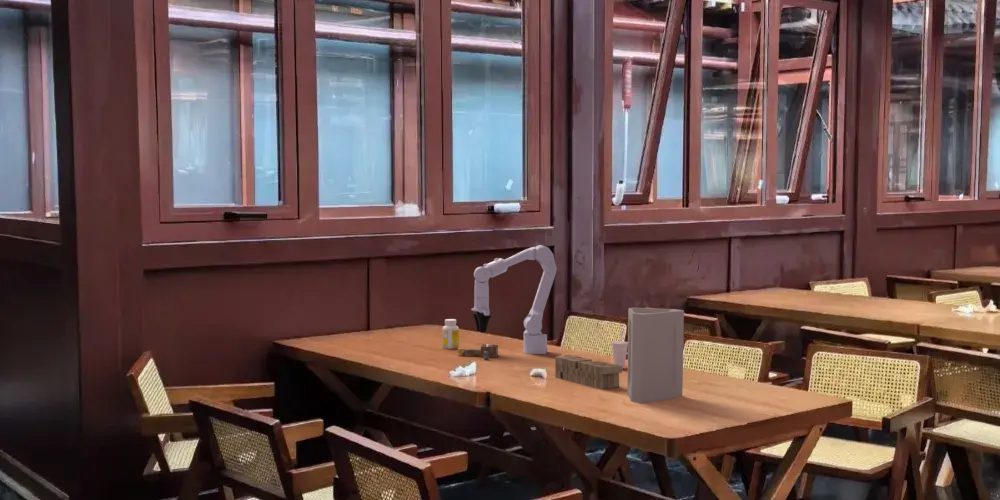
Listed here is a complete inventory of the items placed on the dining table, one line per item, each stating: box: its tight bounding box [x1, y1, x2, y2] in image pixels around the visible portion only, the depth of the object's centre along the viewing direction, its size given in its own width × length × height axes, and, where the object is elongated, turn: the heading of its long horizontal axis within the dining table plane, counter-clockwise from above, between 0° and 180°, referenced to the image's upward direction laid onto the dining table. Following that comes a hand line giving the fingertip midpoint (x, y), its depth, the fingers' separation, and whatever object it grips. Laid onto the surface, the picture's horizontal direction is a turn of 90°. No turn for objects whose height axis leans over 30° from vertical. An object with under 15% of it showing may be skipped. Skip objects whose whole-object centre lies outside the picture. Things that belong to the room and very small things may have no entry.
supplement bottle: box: [441, 318, 460, 350], centre depth 433 cm, size 7×7×13 cm
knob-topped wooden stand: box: [457, 344, 499, 358], centre depth 413 cm, size 15×6×4 cm, turn 84°
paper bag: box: [626, 307, 685, 404], centre depth 344 cm, size 19×15×28 cm
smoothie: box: [610, 330, 628, 370], centre depth 396 cm, size 6×6×14 cm
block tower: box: [554, 354, 623, 390], centre depth 368 cm, size 8×8×29 cm
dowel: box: [483, 351, 490, 361], centre depth 404 cm, size 2×2×4 cm
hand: (481, 331), depth 420 cm, fingers open, 3 cm apart
